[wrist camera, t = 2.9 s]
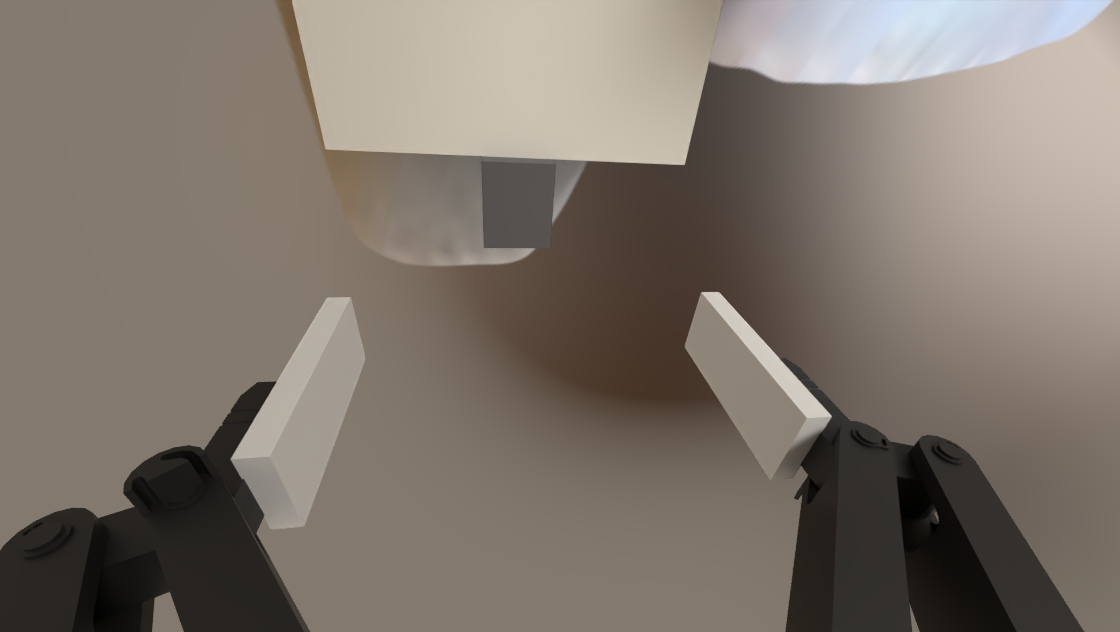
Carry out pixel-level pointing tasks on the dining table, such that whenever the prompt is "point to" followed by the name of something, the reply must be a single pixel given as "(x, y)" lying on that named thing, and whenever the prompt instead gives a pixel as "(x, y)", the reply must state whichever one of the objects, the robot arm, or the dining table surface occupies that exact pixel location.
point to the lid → (510, 87)
